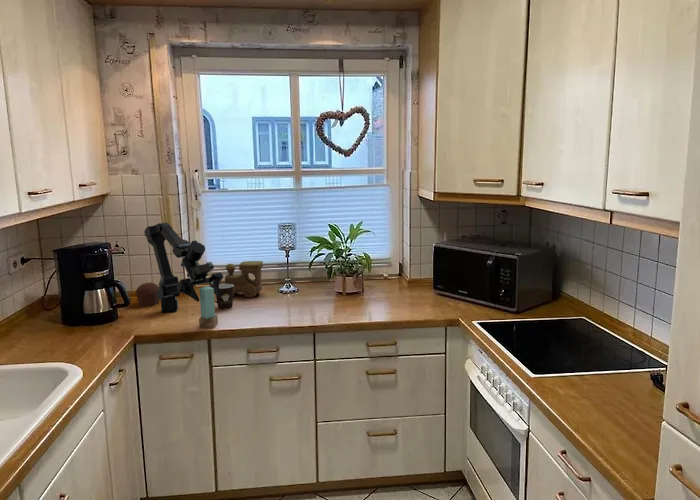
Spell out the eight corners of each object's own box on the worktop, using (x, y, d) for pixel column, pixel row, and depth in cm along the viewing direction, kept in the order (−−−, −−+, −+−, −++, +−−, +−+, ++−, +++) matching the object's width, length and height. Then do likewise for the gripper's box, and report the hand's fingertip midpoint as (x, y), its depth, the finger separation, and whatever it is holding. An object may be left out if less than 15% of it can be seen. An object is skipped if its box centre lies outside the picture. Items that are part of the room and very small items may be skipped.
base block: (199, 328, 213) (198, 319, 212) (203, 324, 219) (202, 314, 218) (214, 328, 213) (214, 319, 212) (218, 324, 219) (217, 314, 218)
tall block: (201, 316, 215) (199, 288, 212) (209, 314, 218) (208, 286, 215) (206, 319, 213) (204, 290, 210) (215, 316, 215) (213, 288, 213)
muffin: (156, 307, 244) (154, 286, 243) (132, 307, 244) (130, 286, 243) (165, 300, 256) (163, 280, 254) (142, 301, 256) (140, 280, 254)
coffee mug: (237, 304, 247) (236, 283, 245) (231, 310, 238) (230, 288, 236) (213, 304, 248) (211, 283, 246) (206, 309, 239) (204, 288, 238)
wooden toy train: (264, 292, 269) (263, 260, 266) (260, 298, 258) (258, 264, 255) (225, 292, 270) (224, 260, 267) (219, 298, 259) (217, 265, 256)
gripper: (178, 259, 207) (194, 291, 202) (219, 253, 220) (236, 283, 215) (169, 276, 214) (185, 308, 208) (210, 269, 227) (226, 298, 222)
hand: (209, 298), depth 213 cm, fingers open, 9 cm apart
